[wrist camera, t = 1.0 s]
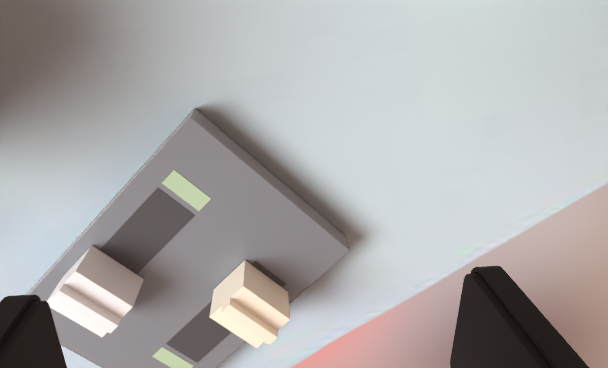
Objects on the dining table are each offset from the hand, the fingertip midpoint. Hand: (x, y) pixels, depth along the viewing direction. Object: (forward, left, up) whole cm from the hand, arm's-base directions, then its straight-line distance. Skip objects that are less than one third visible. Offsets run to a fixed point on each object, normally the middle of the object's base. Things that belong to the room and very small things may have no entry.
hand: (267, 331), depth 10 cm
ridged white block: (+13, +17, -24) cm, 32 cm away
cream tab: (0, +18, -24) cm, 30 cm away
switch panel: (+6, +17, -27) cm, 33 cm away
